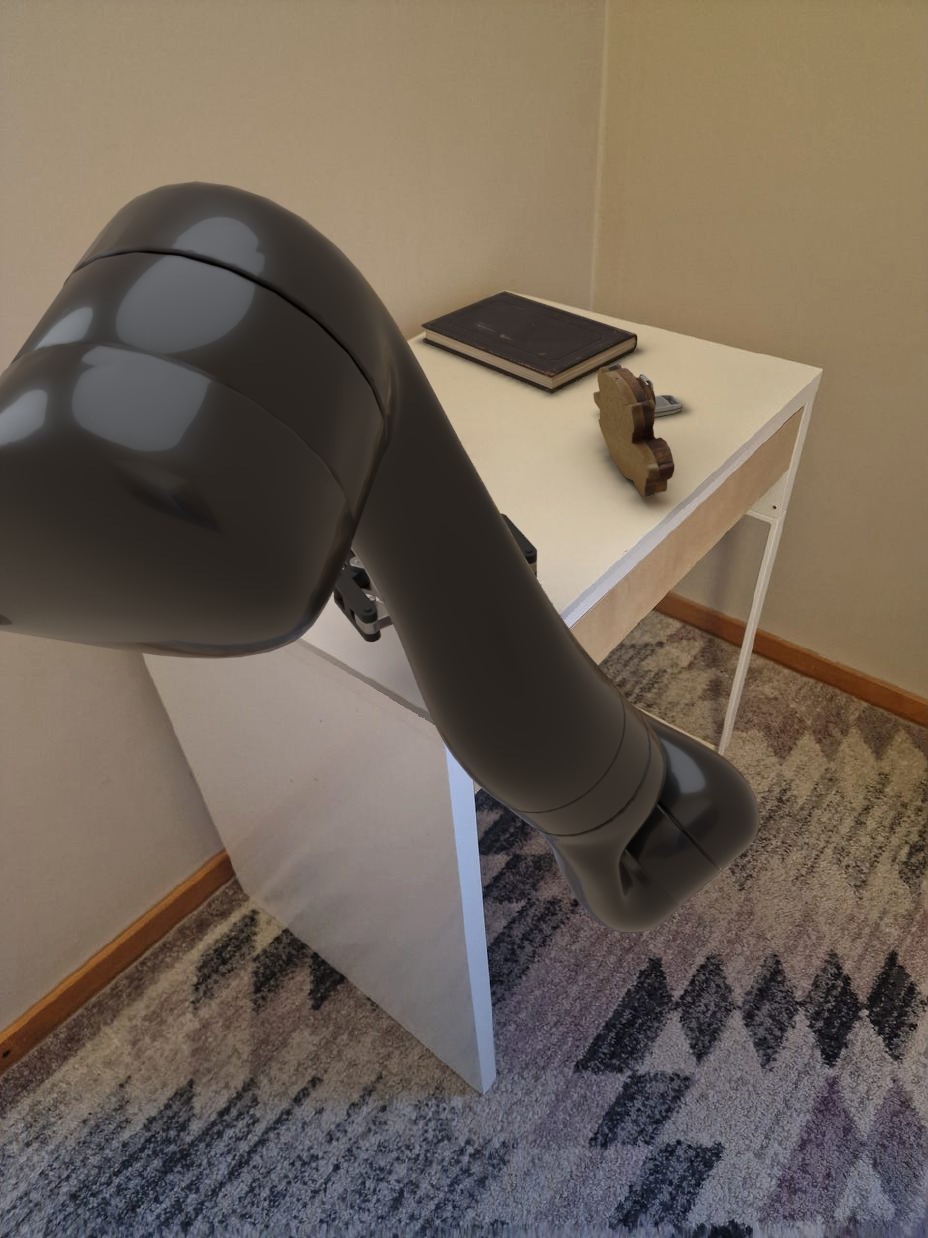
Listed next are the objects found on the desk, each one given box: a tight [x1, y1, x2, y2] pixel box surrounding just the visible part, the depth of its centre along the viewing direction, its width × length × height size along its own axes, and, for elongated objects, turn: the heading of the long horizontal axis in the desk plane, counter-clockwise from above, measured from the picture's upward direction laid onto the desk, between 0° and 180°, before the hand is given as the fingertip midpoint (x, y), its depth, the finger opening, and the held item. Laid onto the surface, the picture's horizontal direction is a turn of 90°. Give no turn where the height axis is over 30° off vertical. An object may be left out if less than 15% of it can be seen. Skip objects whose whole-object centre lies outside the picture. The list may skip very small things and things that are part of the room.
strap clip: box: [638, 373, 683, 418], centre depth 94 cm, size 8×3×4 cm, turn 107°
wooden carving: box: [593, 363, 676, 498], centre depth 83 cm, size 16×5×10 cm, turn 16°
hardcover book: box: [421, 290, 638, 394], centre depth 110 cm, size 16×23×2 cm
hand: (394, 524), depth 66 cm, fingers open, 8 cm apart
